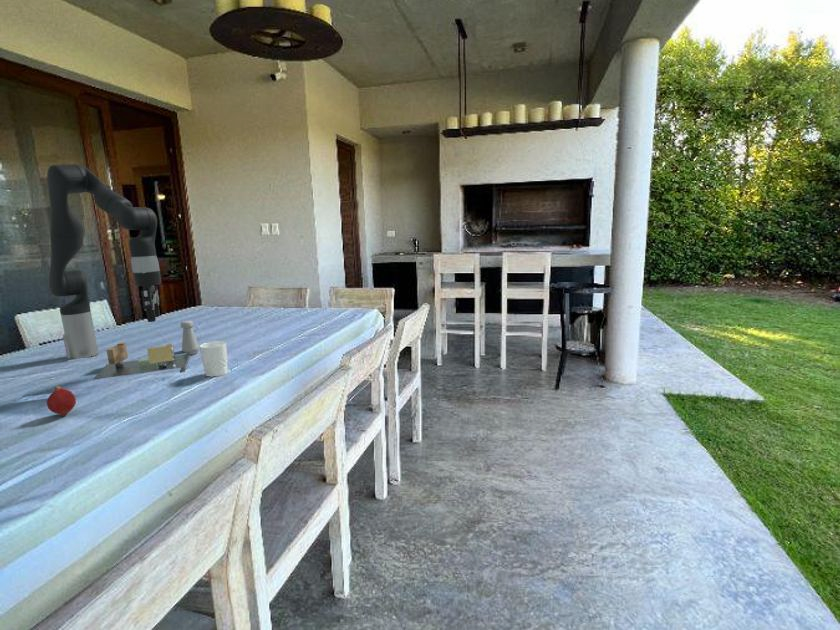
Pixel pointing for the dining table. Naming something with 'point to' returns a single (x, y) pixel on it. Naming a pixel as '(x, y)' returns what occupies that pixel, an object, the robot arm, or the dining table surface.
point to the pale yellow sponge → (160, 355)
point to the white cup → (214, 358)
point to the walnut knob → (117, 354)
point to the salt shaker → (189, 338)
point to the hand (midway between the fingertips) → (154, 319)
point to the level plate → (142, 367)
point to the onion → (61, 401)
